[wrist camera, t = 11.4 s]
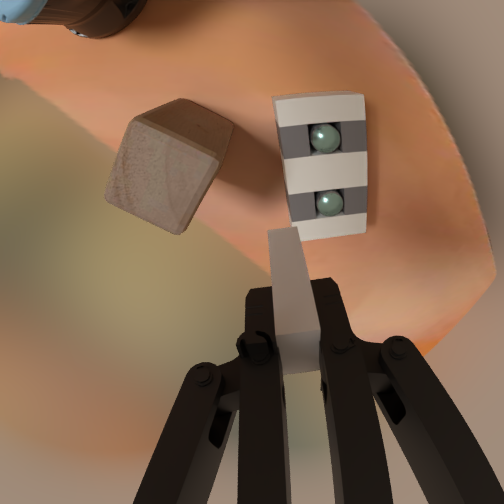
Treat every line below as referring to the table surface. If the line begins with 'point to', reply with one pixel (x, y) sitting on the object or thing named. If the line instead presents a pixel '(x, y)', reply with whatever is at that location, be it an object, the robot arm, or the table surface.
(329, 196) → the peg
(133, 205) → the wooden block
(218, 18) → the table surface
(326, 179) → the socket board
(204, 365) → the robot arm
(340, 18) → the table surface
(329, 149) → the peg
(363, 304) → the table surface
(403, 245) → the table surface
